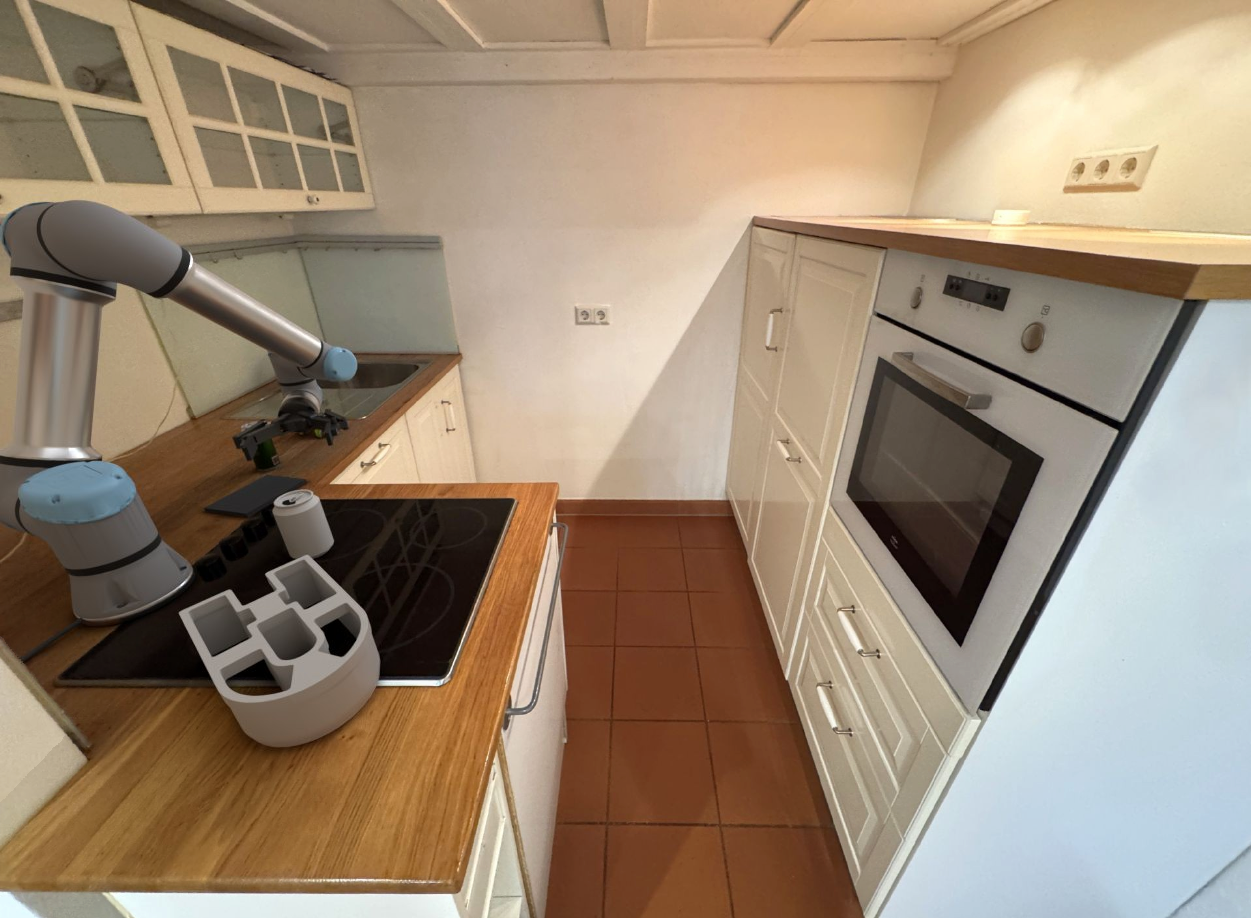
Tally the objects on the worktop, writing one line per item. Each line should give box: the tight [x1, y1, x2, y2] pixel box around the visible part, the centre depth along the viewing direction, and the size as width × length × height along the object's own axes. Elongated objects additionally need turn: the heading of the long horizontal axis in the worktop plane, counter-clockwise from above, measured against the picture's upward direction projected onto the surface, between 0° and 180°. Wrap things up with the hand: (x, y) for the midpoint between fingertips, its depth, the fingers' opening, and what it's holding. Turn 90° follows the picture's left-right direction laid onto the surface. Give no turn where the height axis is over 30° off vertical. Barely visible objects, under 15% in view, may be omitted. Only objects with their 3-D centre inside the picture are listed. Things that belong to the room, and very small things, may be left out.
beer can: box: [240, 420, 281, 473], centre depth 127 cm, size 5×5×12 cm
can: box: [272, 489, 335, 560], centre depth 93 cm, size 8×8×12 cm
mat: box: [203, 474, 308, 518], centre depth 116 cm, size 16×12×1 cm
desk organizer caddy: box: [178, 555, 381, 748], centre depth 68 cm, size 17×28×9 cm, turn 50°
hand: (288, 446), depth 96 cm, fingers open, 13 cm apart
